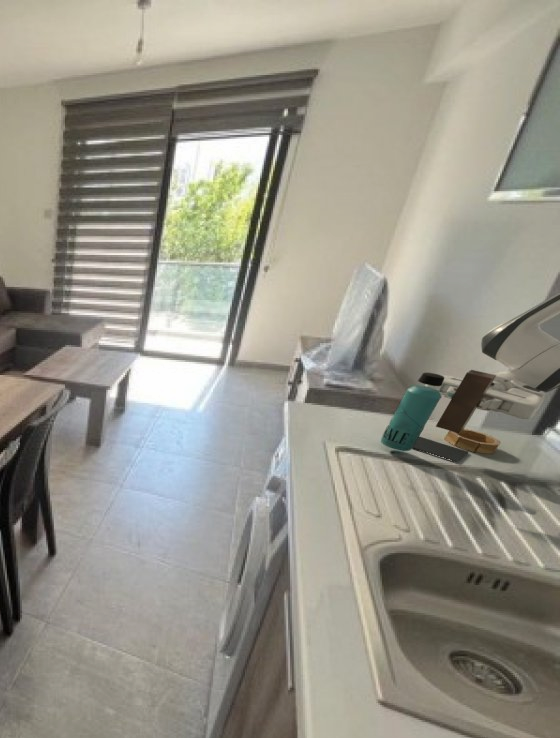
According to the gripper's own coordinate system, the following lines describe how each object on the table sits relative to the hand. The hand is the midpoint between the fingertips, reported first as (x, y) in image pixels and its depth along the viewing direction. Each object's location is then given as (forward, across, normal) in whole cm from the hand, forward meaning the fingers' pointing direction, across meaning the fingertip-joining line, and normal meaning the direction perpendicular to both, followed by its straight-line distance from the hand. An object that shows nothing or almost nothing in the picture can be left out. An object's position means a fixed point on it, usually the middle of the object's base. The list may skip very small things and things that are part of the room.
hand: (465, 399), depth 114 cm
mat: (0, 0, +14) cm, 14 cm away
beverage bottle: (+11, -4, +14) cm, 18 cm away
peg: (-1, 0, +8) cm, 8 cm away
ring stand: (-13, +2, +14) cm, 19 cm away
